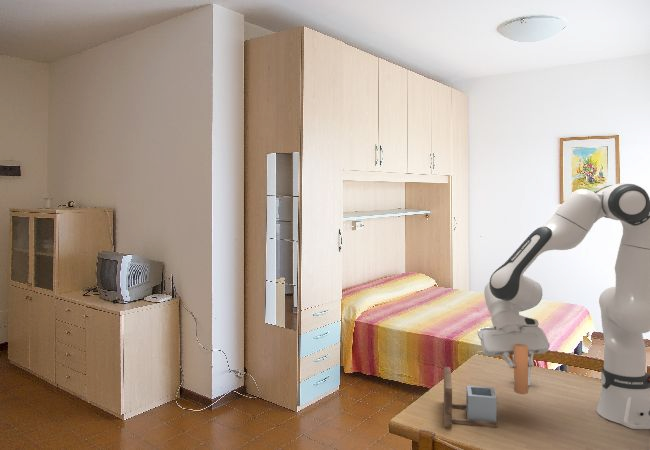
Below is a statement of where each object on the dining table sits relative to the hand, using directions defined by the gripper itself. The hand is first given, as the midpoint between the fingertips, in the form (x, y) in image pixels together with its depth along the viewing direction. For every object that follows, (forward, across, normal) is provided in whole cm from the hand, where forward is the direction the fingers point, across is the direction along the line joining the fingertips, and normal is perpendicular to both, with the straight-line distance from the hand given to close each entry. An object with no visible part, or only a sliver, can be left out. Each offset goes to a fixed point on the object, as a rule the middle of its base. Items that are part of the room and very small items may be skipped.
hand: (521, 366), depth 151 cm
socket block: (+9, -11, +14) cm, 21 cm away
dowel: (+5, 0, +6) cm, 8 cm away
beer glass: (-8, +13, +33) cm, 36 cm away
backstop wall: (+8, -15, +15) cm, 23 cm away
